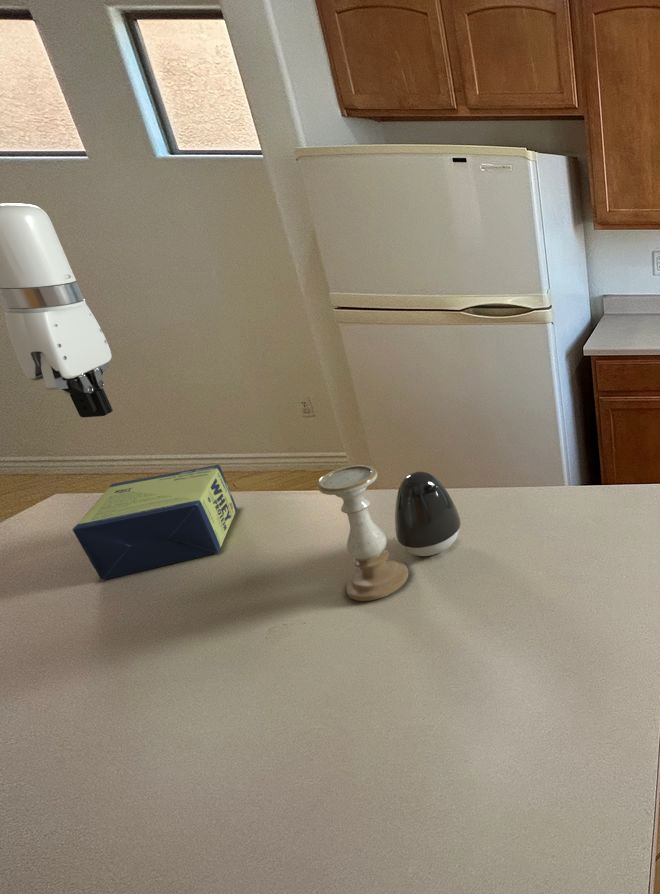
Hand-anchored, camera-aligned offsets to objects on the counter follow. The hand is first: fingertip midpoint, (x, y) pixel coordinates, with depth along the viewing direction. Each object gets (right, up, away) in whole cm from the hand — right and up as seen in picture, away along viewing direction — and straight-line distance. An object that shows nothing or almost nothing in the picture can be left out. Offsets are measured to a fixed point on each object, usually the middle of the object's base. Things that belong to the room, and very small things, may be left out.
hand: (97, 414), depth 85 cm
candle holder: (+40, -28, +5) cm, 50 cm away
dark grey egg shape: (+45, -24, +14) cm, 53 cm away
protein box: (+2, -21, +6) cm, 22 cm away
